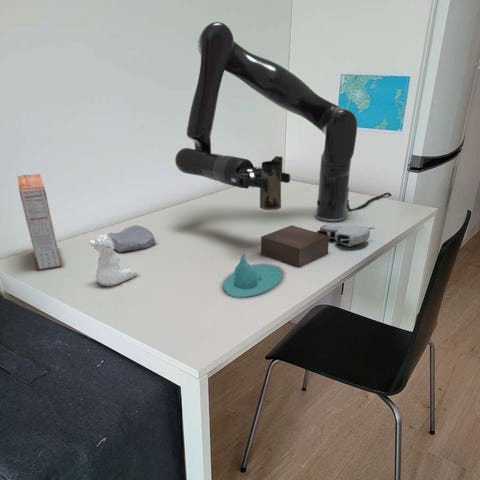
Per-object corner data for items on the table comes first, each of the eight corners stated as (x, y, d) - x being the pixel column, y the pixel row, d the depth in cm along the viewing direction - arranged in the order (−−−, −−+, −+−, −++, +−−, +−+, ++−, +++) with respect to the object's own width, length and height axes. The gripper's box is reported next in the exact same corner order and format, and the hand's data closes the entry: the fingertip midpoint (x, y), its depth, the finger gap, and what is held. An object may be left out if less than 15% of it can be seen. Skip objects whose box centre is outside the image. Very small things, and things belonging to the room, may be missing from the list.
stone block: (159, 249, 139) (139, 234, 144) (159, 235, 136) (138, 220, 141) (123, 262, 132) (104, 246, 137) (123, 247, 129) (102, 231, 134)
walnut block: (290, 241, 140) (291, 225, 137) (327, 253, 132) (329, 235, 129) (260, 254, 131) (260, 236, 129) (298, 267, 124) (299, 248, 121)
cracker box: (34, 252, 133) (16, 175, 123) (57, 248, 135) (41, 172, 125) (37, 271, 122) (17, 188, 112) (62, 267, 124) (45, 185, 114)
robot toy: (308, 243, 140) (354, 252, 131) (308, 228, 138) (355, 236, 129) (331, 232, 148) (376, 240, 139) (331, 218, 146) (377, 225, 137)
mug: (275, 211, 122) (276, 162, 116) (255, 208, 124) (256, 160, 118) (288, 203, 128) (290, 156, 122) (269, 200, 130) (270, 154, 124)
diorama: (293, 270, 122) (294, 237, 118) (256, 302, 107) (257, 266, 102) (250, 261, 127) (250, 230, 123) (210, 291, 112) (209, 256, 108)
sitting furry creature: (138, 275, 120) (132, 228, 114) (123, 290, 112) (116, 241, 106) (103, 271, 121) (95, 226, 115) (86, 286, 114) (77, 238, 108)
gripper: (213, 161, 125) (260, 171, 115) (250, 152, 134) (297, 161, 124) (214, 190, 129) (259, 202, 119) (250, 180, 137) (295, 191, 128)
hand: (278, 181), depth 121 cm, fingers closed on mug, 8 cm apart
